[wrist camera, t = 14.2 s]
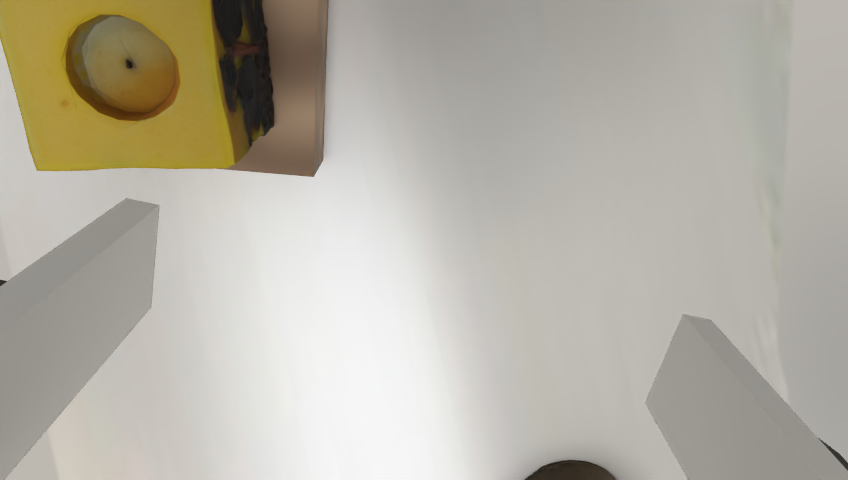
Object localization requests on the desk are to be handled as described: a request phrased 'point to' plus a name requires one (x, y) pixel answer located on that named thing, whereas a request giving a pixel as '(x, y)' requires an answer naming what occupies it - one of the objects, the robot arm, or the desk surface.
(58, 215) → the desk surface
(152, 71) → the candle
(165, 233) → the desk surface
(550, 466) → the pillar candle
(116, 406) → the desk surface
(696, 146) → the desk surface
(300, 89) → the walnut block
